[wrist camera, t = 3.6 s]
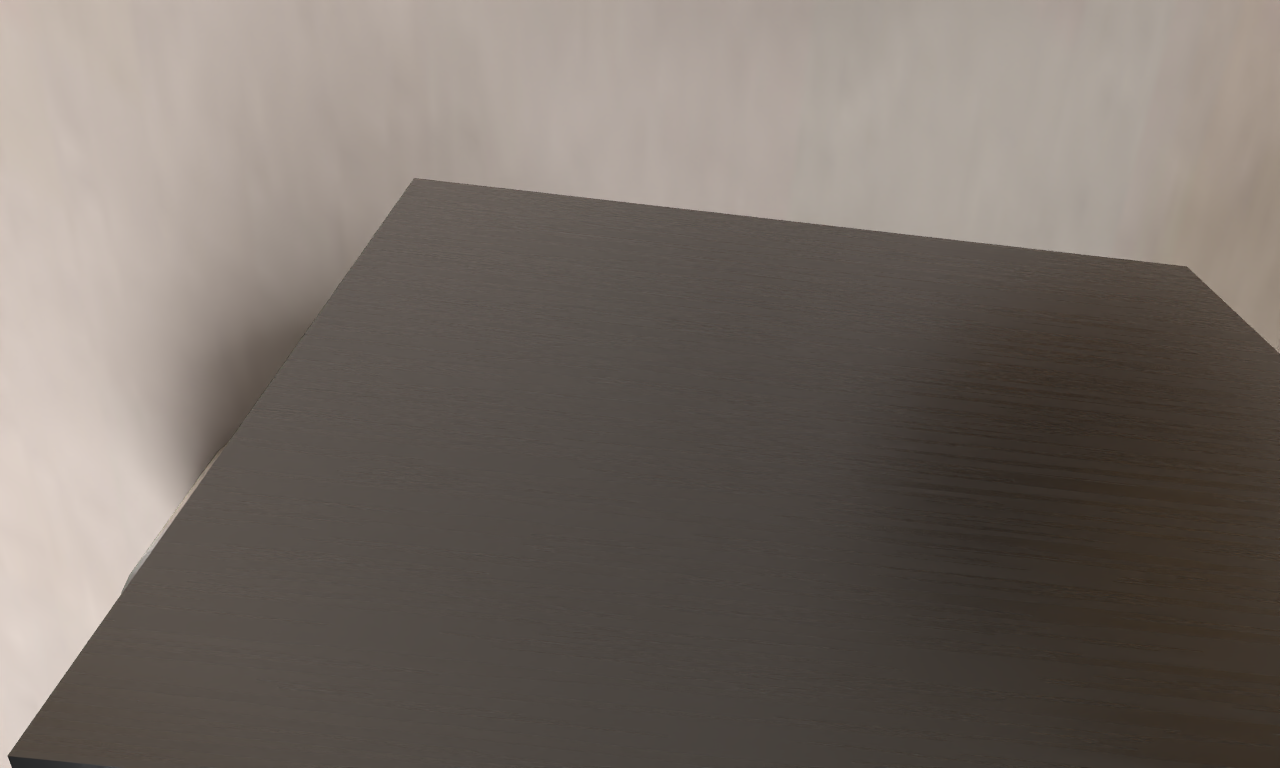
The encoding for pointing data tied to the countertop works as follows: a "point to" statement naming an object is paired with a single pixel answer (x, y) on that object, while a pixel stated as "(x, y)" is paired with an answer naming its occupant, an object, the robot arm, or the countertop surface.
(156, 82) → the countertop surface
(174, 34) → the countertop surface
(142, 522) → the countertop surface
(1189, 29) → the countertop surface
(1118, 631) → the brushed metal cube
